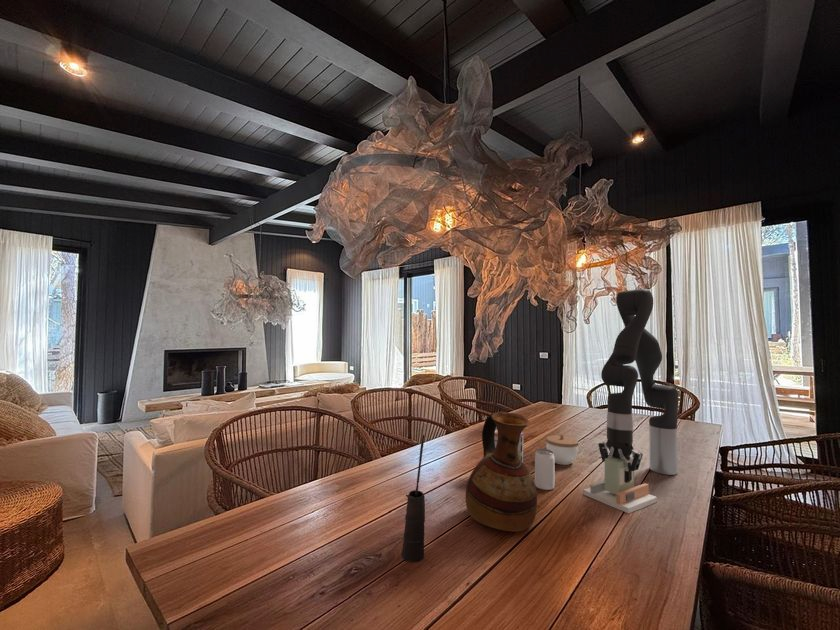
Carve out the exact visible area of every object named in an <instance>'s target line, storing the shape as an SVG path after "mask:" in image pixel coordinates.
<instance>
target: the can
mask: <svg viewBox="0 0 840 630" xmlns="http://www.w3.org/2000/svg"><path fill="white" fill-rule="evenodd" d="M555 464H556V463H555V458H554V455H553V451H551V450H547V448H539V449H536V450H535V454H534V484H535V488H536V489H539V490H542V491H552V490H554V489H555V484H556V483H555V474H556V473H555V469H556V467H555Z"/></svg>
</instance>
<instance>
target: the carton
mask: <svg viewBox="0 0 840 630" xmlns="http://www.w3.org/2000/svg"><path fill="white" fill-rule="evenodd" d="M631 461H633V457H631ZM631 464H632V462H631ZM624 471H625V468H624V463H623V461H621V459H620V458H618V457H613V458H610V457H609V458H605V462H604V480H605V490H606V491H608V492H611V493H613V494H616V493H619V492H621V491H624V490H627V489H630V488H633V487H635V471H632V480H631V481H630V482H629V483H625V482H624Z"/></svg>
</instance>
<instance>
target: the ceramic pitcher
mask: <svg viewBox="0 0 840 630" xmlns="http://www.w3.org/2000/svg"><path fill="white" fill-rule="evenodd" d="M529 423H530V419H529V418H527V417H525V416H524V415H521V414H518V413H514V412H509V411H506V412H505V411H497V412H492V413H490V415H488V416H487V417H486V418H485V420H484V424H483V428H482V430H481V431H482V432H481V440H482V441H481V442H482V448H483V457H482V458H481V460H479V462H478V463H477V464H476V466H475V467H474V469H473V470H472V471H471V473H470V476H469V478H468V480H467V484H466V487H465V507H466V510H467V512H468V514H469V515H470V516H471V518H472V519H474V520H475V521H476V522H477V523H478V522H479V523H480V524H482V525H484V526H487V527H490V528H493V529H497V530H500V531H506V532H522V531H525V530H527V529H529V528H530V526H532V524H533V523H534V522H535V519H536V515H537V508H538V495H537V487H536V486H535V480H534V478H533V476H532V474H531V472H530V470H529V469H528V467H527V465H525V464H524V462H523V463H522V461H520V460H519V457H518V444H519V439H520V435H521V433H523V431H524V429H525V428H527V427H528V426H529ZM496 428H497V429H496ZM495 430H497V431H498V440H497V445H496V448H495Z"/></svg>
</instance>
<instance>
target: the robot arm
mask: <svg viewBox="0 0 840 630" xmlns="http://www.w3.org/2000/svg"><path fill="white" fill-rule="evenodd" d="M615 300H616V301H615V302H616V307H617V310H618V313H619V316H620V319H621V320H622V323H623V325H624V328H623V329H621V331H620V332H619V333H618V335H617V337H616V338H615V342H614V345H613V350H612V353H611V355H609V358H608V360H607V361H606V362H605V364H604V365H603V367H602V370H601V373H600V374H601V375H600V377H601V380H602V382H603V383H604V384H605V385H607V386H613V387H622V388H623V390H622V391H621V392H612V393H610V394H608V396H607V413H606V414H607V415H606V439H607V440H606V442H604V441H602V442H599V443H598V444H597V446H598V449H599V452H600V453H599V454H600V457H601V461H602V462H604V463H605V458H609V457H610V458H613V457H618V458H620V459H621V461H623V463H624V468H625V471H624V482H625V483H629V482H630V481H631V480H632V471H634V472H635V471H638V470H639V468H640V465H641V462H642V460H643V455H644V454H643V453H642V452H638V451H636V450H635V449H634V447H633V441H634V437H633V436H634V433H633V432H634V422H633V421H634V420H633V412H632V411H633V405H632V404H633V397H634V391H635V388H636V386H637V383H638V379H639V378H640V382H641V389H642V393H643V398H644V402H645V403H646V404H647V406H649V407H650V408H655V409H661V410H664V411H663V414H661V415H654V416H650V417H649V419H648V420H649V422H648V425H649V426H648V432H649V433H648V435H649V437H648V439H649V440H648V444H649V445H648V446H649V447H648V448H649V450H648V451H649V452H648V454H649V455H648V456H649V460H648V461H649V466H648V467H649V468H648V469H649V470H650V471H652V472H655V473H657V474H662V475H668V476H670V475H671V476H675V475H677V474H678V421H679V402H680V401H679V397H680V396H679V392H678V389H677V388H676V387H675V386H673V385H664V384H656V382H655V381H654V380H655V379H654V377H655V373H656V371H657V370H658V368H659V367H660V365H661V364H662V363H661V362H662V360H663V354H662V351H661V347H660V343H659V341H658V339H657V338H656V337H655V336H654V335H653V334H652V333H651V332H650V331H648V330H647V329H646V326H647V324H648V321H649V319H650V316H651V315H652V311H653V308H654V296H653V293H652V291H651V290H650V289H647V288H639V289H630V290H624V291H619V292H618V293H617V295H616V299H615ZM634 362H635V363H636V367H637V368H636V367H634V366H633V365H630V364H632V363H634ZM631 455H632V456H631ZM631 458H633V461H631ZM631 462H632V464H631Z"/></svg>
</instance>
